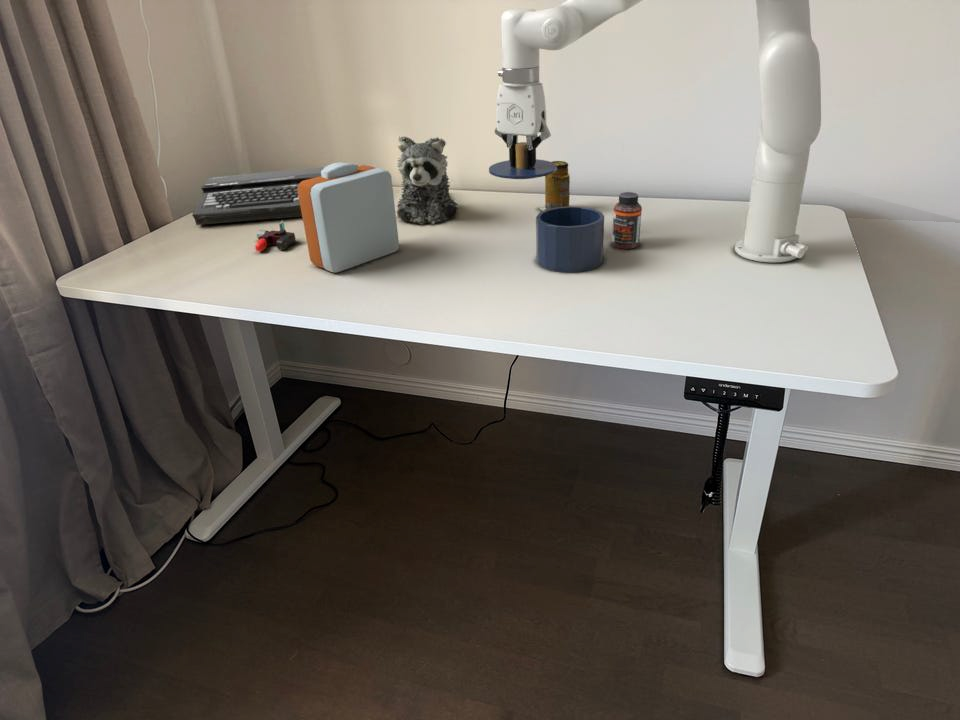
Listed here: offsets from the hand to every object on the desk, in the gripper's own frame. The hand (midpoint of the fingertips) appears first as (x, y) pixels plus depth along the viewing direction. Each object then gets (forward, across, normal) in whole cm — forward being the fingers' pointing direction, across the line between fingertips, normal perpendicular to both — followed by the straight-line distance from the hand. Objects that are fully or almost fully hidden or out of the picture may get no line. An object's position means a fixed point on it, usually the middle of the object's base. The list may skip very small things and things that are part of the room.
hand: (522, 165), depth 151 cm
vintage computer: (+17, -74, -5) cm, 76 cm away
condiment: (+17, -2, +21) cm, 27 cm away
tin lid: (+1, 0, 0) cm, 1 cm away
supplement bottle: (+17, +22, +6) cm, 28 cm away
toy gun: (+17, -52, -30) cm, 63 cm away
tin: (+17, +15, -8) cm, 24 cm away
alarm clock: (+17, -28, -27) cm, 42 cm away
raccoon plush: (+17, -34, +7) cm, 39 cm away
